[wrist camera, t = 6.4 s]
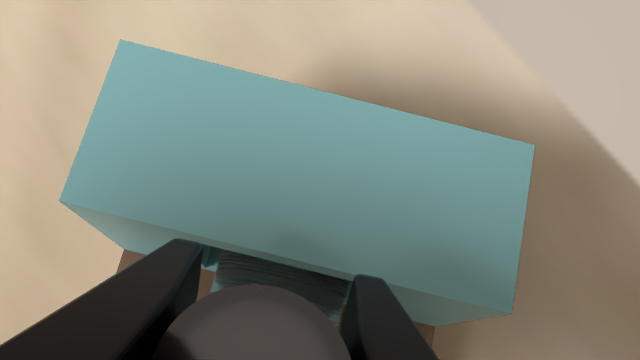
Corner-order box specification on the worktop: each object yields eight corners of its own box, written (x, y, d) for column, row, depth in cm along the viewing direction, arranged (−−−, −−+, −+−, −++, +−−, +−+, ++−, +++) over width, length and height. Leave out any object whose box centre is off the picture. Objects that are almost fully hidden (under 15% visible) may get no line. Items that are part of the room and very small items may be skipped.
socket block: (434, 326, 15) (511, 314, 10) (124, 249, 15) (58, 201, 10) (455, 206, 16) (535, 144, 11) (163, 132, 16) (120, 39, 11)
